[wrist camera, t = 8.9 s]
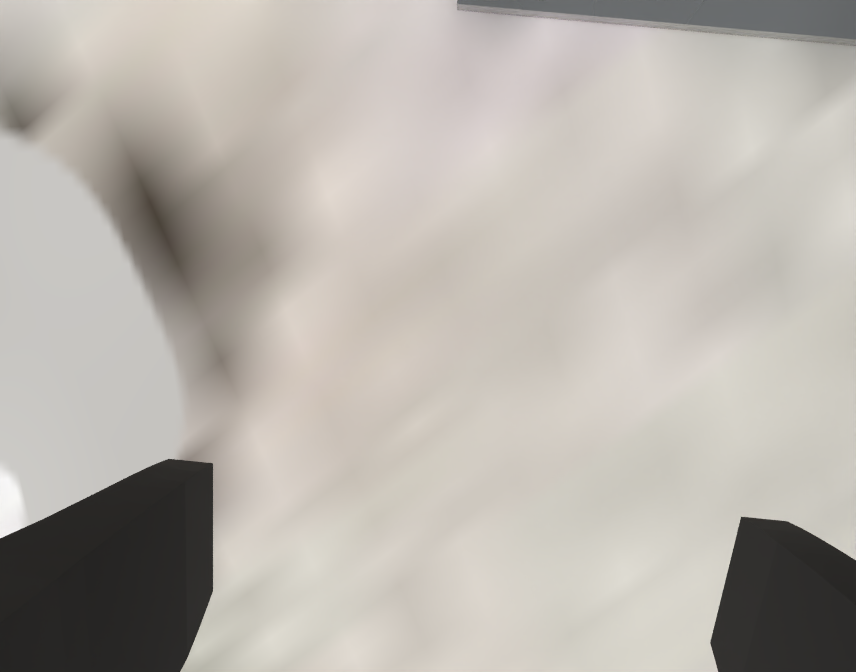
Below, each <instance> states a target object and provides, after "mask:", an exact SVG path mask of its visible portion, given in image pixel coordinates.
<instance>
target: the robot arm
mask: <svg viewBox="0 0 856 672" xmlns="http://www.w3.org/2000/svg"><path fill="white" fill-rule="evenodd" d="M212 592H213V463H204V462H194V461H184V460H174V459H168V460H165V461H162V462H160V463H157V464H155V465H152V466H151V467H148V468H146V469H144V470H142V471H140V472H137V473H135V474H133V475H131V476H129V477H127V478H125V479H123V480H121V481H119V482H117V483H115V484H113V485H111V486H109V487H107V488H105V489H103V490H101V491H99V492H97V493H95V494H94V495H91V496H89V497H87V498H85V499H83V500H81V501H79V502H77V503H75V504H73V505H71V506H69V507H67V508H65V509H63V510H61V511H59V512H57V513H55V514H53V515H51V516H49V517H47V518H45V519H43V520H40V521H38V522H36V523H34V524H31V525H29V526H27V527H25V528H23V529H20V530H18V531H16V532H14V533H11V534H9V535H7V536H5V537H3V538H0V672H180V671H181V669H182V667H183V665H184V663H185V661H186V659H187V657H188V655H189V652H190V650H191V647H192V645H193V642H194V640H195V637H196V635H197V632H198V630H199V627H200V624H201V622H202V619H203V616H204V614H205V611H206V608H207V606H208V603H209V600H210V597H211V595H212ZM710 643H711V647H712V650H713V654H714V658H715V661H716V665H717V668H718V672H856V560H854V559H853V558H851V557H849V556H848V555H846V554H845V553H843V552H841V551H840V550H838V549H836V548H835V547H833V546H831V545H830V544H828V543H826V542H825V541H823V540H821V539H820V538H818V537H816V536H814V535H813V534H811V533H809V532H807V531H805V530H803V529H802V528H800V527H798V526H795V525H793V524H791V523H789V522H787V521H778V520H768V519H758V518H748V517H741V520H740V524H739V528H738V532H737V536H736V540H735V544H734V549H733V553H732V557H731V561H730V565H729V569H728V573H727V577H726V581H725V585H724V589H723V593H722V598H721V602H720V606H719V610H718V614H717V618H716V622H715V626H714V630H713V634H712V638H711V642H710Z"/></svg>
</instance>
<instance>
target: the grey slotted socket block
mask: <svg viewBox="0 0 856 672" xmlns="http://www.w3.org/2000/svg"><path fill="white" fill-rule="evenodd" d="M457 9H458V10H463V11H474V12H485V13H496V14H508V15H519V16H530V17H541V18H552V19H563V20H575V21H586V22H597V23H608V24H619V25H631V26H642V27H653V28H664V29H675V30H686V31H698V32H709V33H720V34H731V35H742V36H754V37H765V38H776V39H787V40H798V41H809V42H821V43H832V44H843V45H854V46H856V0H458V1H457Z"/></svg>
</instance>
